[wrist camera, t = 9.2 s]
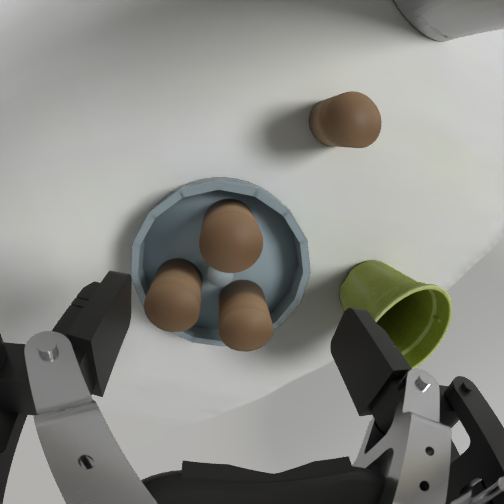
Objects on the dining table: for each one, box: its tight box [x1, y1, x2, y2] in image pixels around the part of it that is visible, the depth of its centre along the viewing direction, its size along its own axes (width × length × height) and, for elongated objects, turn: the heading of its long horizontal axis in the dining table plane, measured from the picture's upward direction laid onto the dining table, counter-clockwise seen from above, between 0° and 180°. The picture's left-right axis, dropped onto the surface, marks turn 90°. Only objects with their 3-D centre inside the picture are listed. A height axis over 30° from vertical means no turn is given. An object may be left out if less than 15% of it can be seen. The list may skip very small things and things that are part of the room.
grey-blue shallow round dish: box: [131, 177, 311, 346], centre depth 22 cm, size 14×14×3 cm
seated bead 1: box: [144, 258, 203, 332], centre depth 21 cm, size 4×4×4 cm
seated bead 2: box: [219, 280, 273, 351], centre depth 22 cm, size 4×4×4 cm
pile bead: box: [309, 92, 381, 148], centre depth 18 cm, size 4×4×4 cm
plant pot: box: [340, 260, 452, 369], centre depth 22 cm, size 9×9×9 cm
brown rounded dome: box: [199, 199, 263, 273], centre depth 19 cm, size 4×4×4 cm
